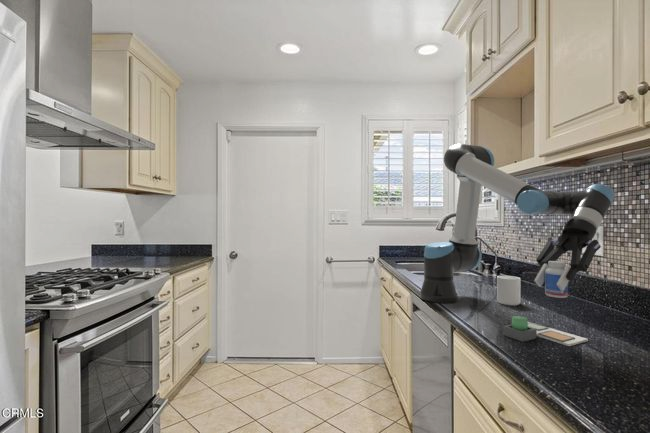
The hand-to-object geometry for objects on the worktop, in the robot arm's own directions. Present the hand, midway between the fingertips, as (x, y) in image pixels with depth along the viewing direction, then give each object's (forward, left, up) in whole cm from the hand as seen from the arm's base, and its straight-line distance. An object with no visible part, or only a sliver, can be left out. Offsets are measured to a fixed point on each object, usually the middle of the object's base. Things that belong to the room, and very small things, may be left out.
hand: (548, 285), depth 96 cm
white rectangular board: (-3, +5, -15) cm, 17 cm away
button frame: (-5, -4, -15) cm, 17 cm away
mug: (-33, +30, -16) cm, 47 cm away
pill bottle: (0, +4, -4) cm, 5 cm away
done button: (-5, -4, -14) cm, 15 cm away
